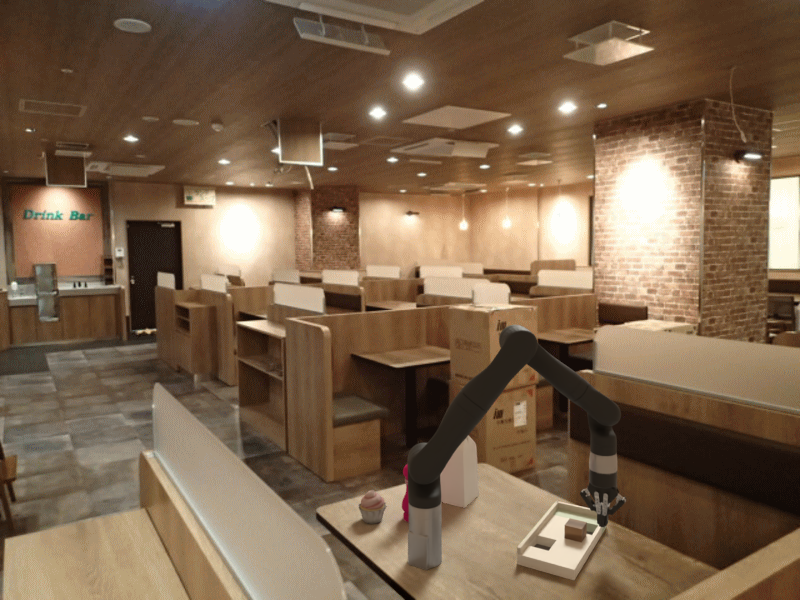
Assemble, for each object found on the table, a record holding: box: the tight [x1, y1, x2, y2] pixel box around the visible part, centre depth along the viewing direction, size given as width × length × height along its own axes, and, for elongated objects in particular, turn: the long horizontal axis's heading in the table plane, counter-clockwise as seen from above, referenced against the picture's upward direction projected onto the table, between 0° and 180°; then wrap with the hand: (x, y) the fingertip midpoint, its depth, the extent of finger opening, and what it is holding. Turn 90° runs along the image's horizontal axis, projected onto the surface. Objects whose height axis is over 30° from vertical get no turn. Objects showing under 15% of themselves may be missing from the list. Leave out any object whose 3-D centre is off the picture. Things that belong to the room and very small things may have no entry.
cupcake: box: [358, 489, 388, 525], centre depth 201 cm, size 9×9×10 cm
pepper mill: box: [401, 463, 409, 523], centre depth 201 cm, size 7×7×20 cm
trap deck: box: [516, 500, 607, 581], centre depth 183 cm, size 34×16×5 cm, turn 148°
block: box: [564, 518, 587, 543], centre depth 182 cm, size 5×5×4 cm
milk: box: [440, 434, 480, 509], centre depth 215 cm, size 12×12×26 cm
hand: (602, 525), depth 177 cm, fingers closed
